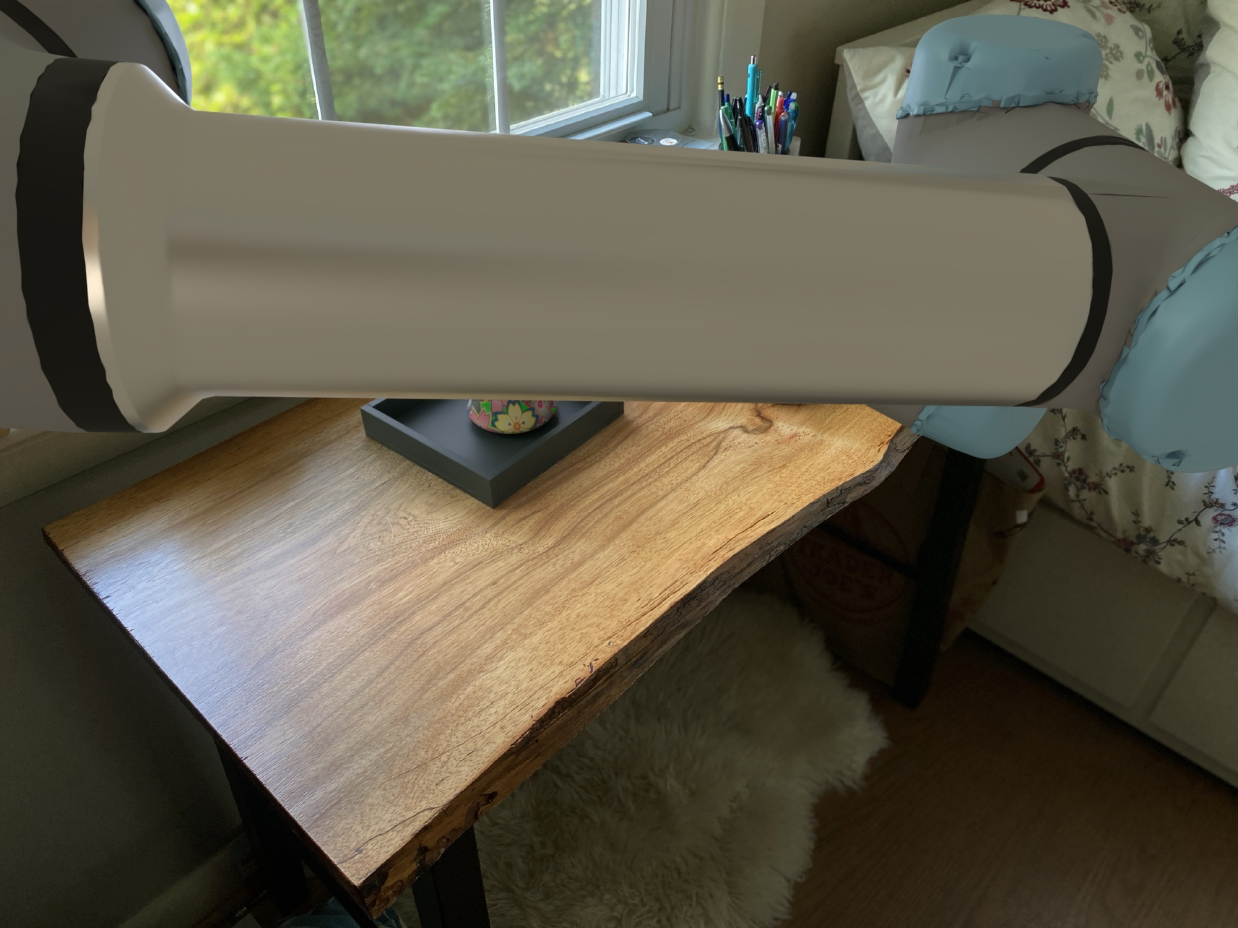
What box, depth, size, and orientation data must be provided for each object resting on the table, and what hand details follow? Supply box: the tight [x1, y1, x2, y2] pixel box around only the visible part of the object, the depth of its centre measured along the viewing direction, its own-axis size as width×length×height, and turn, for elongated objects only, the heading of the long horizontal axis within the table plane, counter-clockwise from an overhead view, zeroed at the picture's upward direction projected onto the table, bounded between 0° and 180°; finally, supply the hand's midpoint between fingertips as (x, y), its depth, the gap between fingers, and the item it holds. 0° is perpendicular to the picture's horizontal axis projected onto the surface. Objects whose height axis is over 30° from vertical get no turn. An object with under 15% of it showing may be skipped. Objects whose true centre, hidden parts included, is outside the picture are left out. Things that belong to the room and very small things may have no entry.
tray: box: [359, 398, 625, 510], centre depth 86 cm, size 18×17×3 cm
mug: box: [467, 399, 558, 434], centre depth 84 cm, size 12×9×11 cm
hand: (547, 183), depth 65 cm, fingers open, 13 cm apart
